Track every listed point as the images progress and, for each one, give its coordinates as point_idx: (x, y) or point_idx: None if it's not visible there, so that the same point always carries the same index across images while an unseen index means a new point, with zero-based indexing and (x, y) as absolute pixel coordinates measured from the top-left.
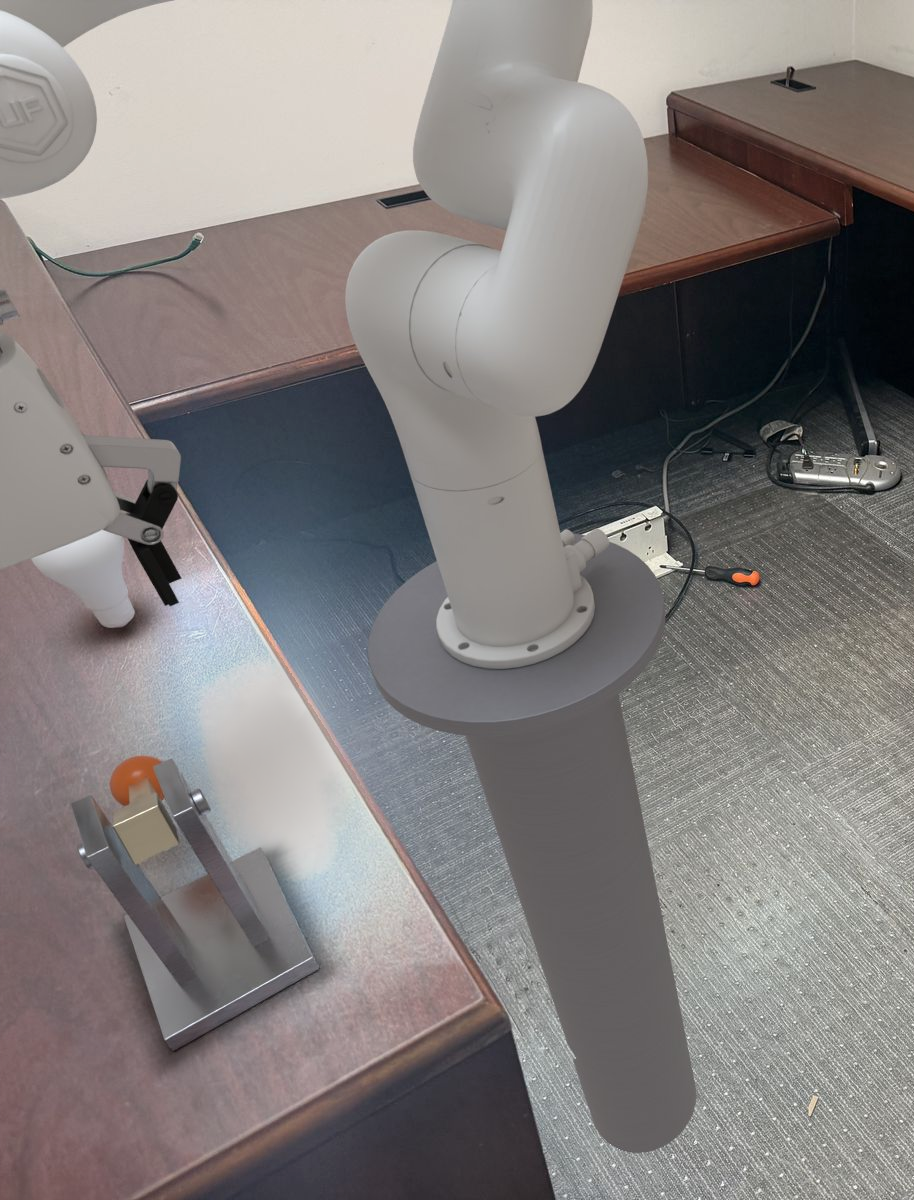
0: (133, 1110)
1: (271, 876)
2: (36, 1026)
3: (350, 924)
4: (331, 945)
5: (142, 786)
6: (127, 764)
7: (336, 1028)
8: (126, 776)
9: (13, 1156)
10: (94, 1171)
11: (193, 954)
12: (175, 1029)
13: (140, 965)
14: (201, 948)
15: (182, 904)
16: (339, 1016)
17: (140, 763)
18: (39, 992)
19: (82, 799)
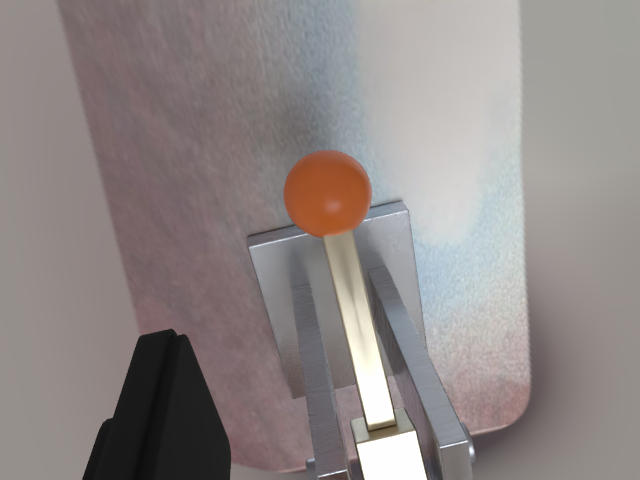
0: (258, 420)
1: (412, 257)
2: (159, 318)
3: (461, 317)
4: (439, 333)
5: (355, 282)
6: (329, 210)
7: None
8: (325, 230)
9: None
10: (231, 453)
11: (322, 324)
12: (302, 394)
13: (269, 317)
14: (330, 320)
15: (314, 257)
16: None
17: (349, 214)
18: (154, 280)
19: (335, 474)
